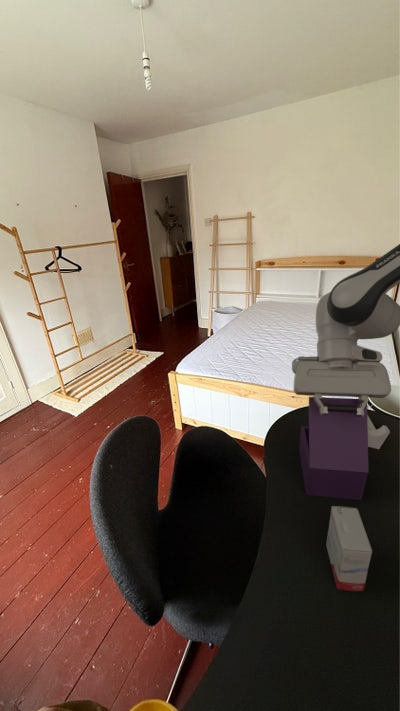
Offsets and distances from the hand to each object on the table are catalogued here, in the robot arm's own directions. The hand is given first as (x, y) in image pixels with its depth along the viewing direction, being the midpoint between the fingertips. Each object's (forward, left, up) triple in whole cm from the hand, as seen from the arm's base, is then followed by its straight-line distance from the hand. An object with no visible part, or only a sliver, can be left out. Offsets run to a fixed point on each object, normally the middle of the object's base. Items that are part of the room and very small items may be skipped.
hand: (341, 415), depth 66 cm
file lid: (0, -1, -6) cm, 6 cm away
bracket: (-17, -18, -22) cm, 33 cm away
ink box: (+5, +19, -22) cm, 29 cm away
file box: (-1, -4, -22) cm, 22 cm away
